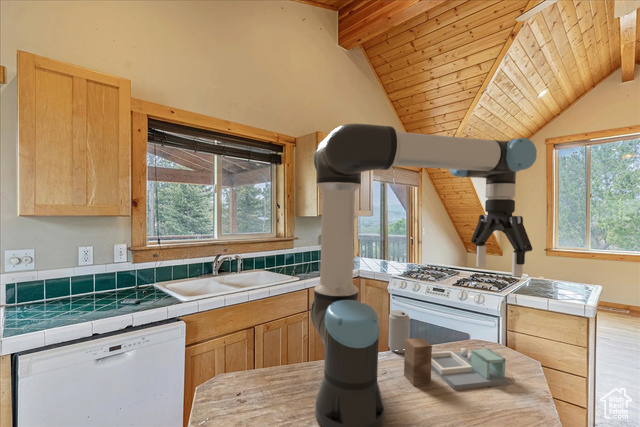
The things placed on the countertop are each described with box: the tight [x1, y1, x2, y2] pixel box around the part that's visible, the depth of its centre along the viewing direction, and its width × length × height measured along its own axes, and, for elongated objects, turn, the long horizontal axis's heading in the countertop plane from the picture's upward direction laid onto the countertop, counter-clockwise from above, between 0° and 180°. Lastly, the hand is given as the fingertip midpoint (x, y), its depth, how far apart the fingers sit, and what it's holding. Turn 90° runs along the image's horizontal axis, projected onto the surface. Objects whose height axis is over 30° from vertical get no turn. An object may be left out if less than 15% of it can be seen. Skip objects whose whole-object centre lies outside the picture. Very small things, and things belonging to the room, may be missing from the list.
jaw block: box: [403, 337, 433, 387], centre depth 81 cm, size 5×5×10 cm
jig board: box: [431, 347, 509, 391], centre depth 86 cm, size 16×16×3 cm
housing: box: [470, 348, 506, 379], centre depth 83 cm, size 6×6×5 cm
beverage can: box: [387, 309, 410, 354], centre depth 98 cm, size 6×6×12 cm
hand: (497, 271), depth 89 cm, fingers open, 13 cm apart
